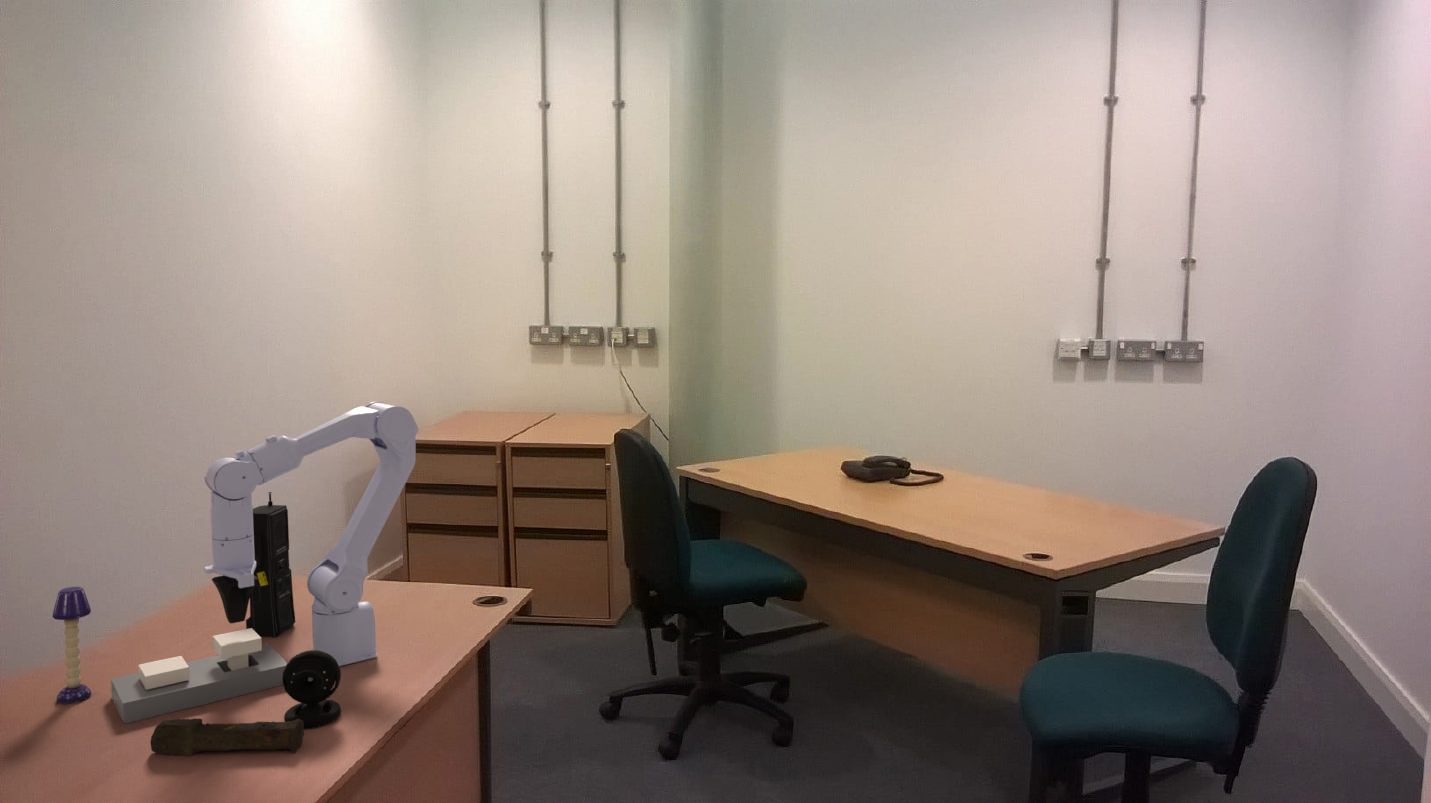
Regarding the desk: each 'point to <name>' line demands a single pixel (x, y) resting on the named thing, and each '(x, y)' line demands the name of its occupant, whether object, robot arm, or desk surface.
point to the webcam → (312, 688)
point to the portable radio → (271, 572)
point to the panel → (198, 685)
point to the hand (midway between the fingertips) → (236, 621)
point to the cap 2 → (237, 647)
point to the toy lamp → (72, 640)
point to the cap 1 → (163, 672)
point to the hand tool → (224, 736)
